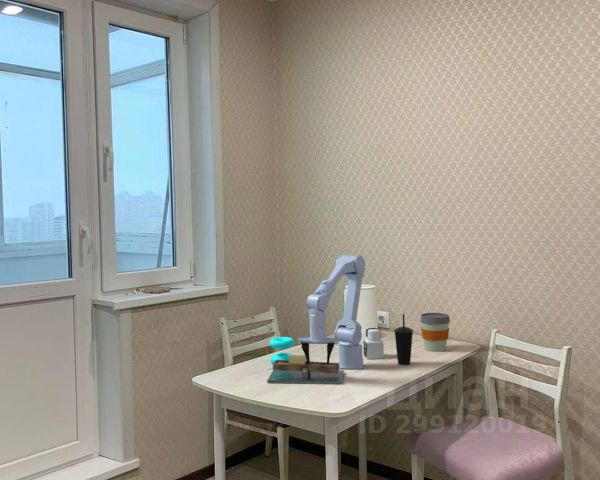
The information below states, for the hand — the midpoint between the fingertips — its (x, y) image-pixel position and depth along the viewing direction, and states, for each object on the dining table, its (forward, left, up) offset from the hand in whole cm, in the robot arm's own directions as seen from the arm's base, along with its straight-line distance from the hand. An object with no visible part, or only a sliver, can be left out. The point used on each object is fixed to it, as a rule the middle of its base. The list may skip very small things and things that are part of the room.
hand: (318, 363), depth 209 cm
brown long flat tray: (+4, 0, -2) cm, 5 cm away
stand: (+4, 0, -6) cm, 7 cm away
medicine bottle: (-21, -31, -6) cm, 38 cm away
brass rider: (+8, 0, -1) cm, 8 cm away
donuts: (+16, -20, -6) cm, 27 cm away
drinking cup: (-33, -21, -6) cm, 39 cm away
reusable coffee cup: (-48, -45, -6) cm, 66 cm away
